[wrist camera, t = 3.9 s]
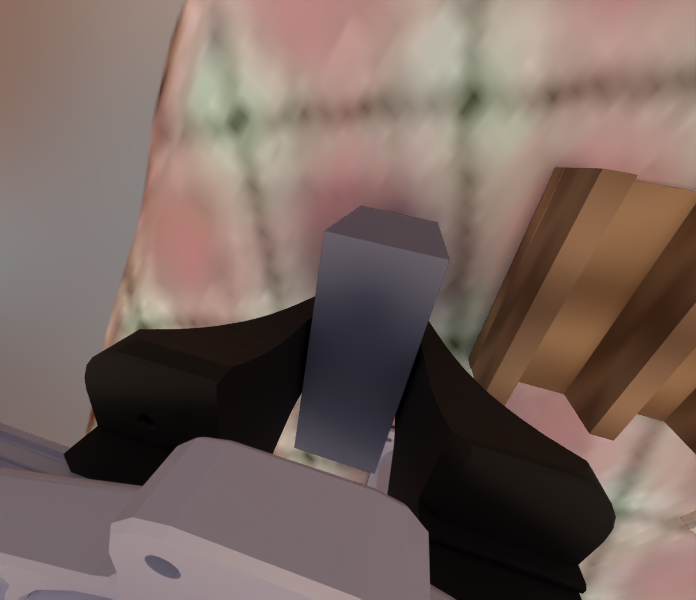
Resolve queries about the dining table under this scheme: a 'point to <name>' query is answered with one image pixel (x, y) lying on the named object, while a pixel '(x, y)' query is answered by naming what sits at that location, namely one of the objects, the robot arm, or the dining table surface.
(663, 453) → the dining table surface
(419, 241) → the tall slate-grey prism
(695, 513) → the hard drive
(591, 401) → the rack
